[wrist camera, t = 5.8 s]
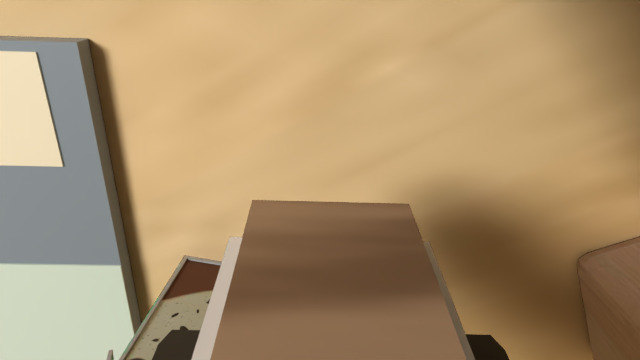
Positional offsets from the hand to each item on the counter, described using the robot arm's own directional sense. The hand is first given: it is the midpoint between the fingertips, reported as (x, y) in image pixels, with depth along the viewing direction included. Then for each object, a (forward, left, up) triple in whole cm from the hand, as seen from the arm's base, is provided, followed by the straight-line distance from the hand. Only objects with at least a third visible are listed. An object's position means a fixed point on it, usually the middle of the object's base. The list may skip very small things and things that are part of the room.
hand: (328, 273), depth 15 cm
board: (+5, -17, -11) cm, 21 cm away
